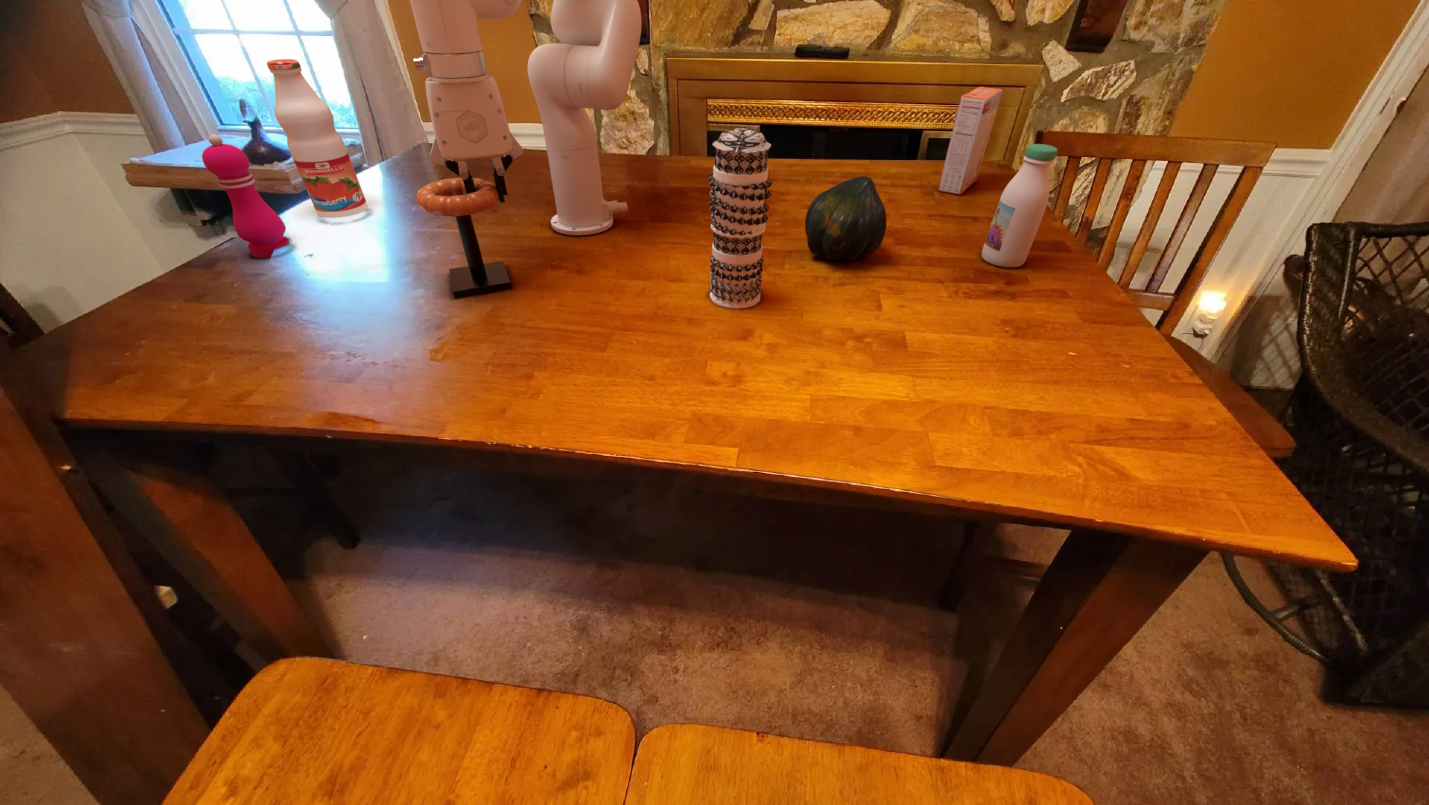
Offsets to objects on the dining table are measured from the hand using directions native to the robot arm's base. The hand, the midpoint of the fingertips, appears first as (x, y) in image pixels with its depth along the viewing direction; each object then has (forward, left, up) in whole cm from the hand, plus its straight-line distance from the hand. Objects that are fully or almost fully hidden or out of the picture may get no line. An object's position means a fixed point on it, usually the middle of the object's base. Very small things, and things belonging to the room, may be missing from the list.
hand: (488, 200), depth 87 cm
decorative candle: (-34, +21, -13) cm, 42 cm away
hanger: (+4, 0, -13) cm, 14 cm away
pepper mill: (+38, -27, -13) cm, 49 cm away
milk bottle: (-87, +27, -13) cm, 92 cm away
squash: (-60, +13, -13) cm, 63 cm away
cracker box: (-110, -10, -13) cm, 111 cm away
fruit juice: (+27, -42, -13) cm, 52 cm away
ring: (+4, 0, +1) cm, 4 cm away
